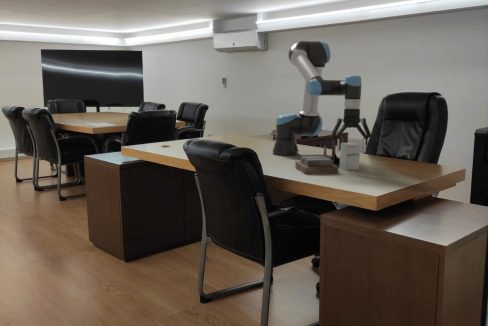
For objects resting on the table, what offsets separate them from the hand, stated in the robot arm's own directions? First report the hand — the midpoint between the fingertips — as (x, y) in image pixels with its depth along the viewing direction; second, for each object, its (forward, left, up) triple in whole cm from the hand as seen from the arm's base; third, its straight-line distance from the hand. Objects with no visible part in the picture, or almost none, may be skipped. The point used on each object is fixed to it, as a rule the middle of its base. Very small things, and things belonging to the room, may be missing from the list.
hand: (350, 152), depth 233 cm
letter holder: (-18, -2, -9) cm, 20 cm away
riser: (+3, -18, -8) cm, 20 cm away
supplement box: (0, 0, -9) cm, 9 cm away
